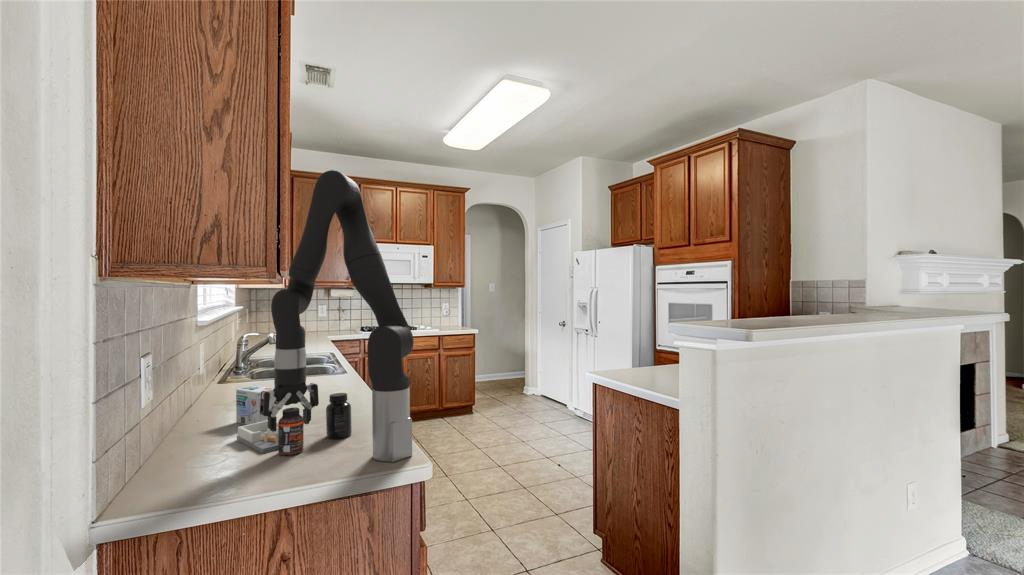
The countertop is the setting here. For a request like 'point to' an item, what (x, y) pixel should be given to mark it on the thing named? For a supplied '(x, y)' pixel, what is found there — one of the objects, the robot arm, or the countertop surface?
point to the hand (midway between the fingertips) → (290, 427)
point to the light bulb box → (250, 404)
